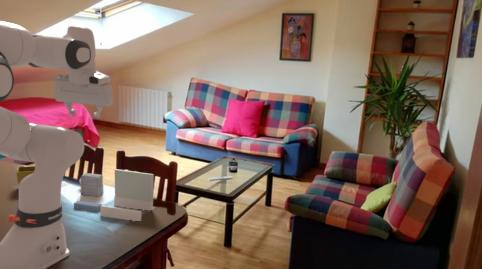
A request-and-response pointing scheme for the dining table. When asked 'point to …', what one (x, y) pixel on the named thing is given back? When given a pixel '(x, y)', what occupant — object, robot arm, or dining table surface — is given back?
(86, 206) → the blue-grey rectangular bar
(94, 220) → the dining table surface
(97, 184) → the medicine box
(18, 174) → the flower pot
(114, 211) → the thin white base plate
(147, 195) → the lid
